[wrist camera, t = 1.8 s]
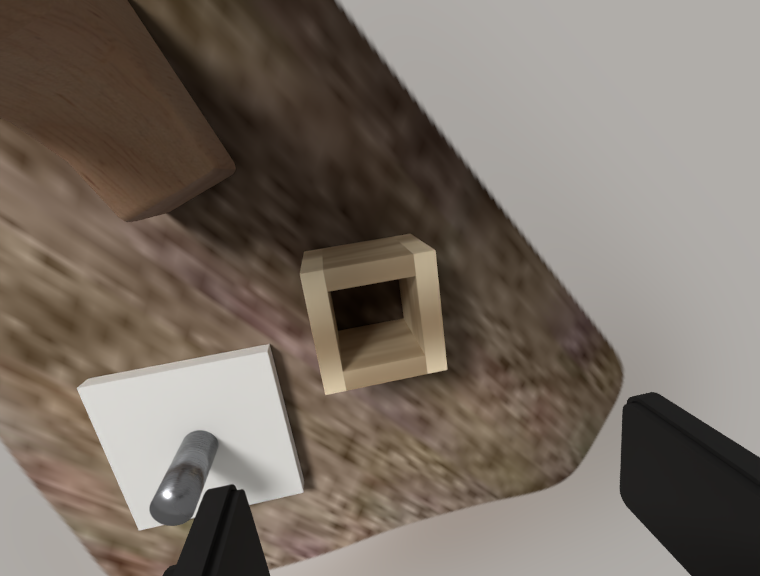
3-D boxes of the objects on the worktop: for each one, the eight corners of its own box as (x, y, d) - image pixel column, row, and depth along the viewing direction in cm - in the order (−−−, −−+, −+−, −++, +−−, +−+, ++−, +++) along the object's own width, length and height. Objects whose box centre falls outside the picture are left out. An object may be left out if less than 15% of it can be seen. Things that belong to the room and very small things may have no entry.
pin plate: (87, 378, 21) (12, 445, 16) (269, 343, 22) (254, 395, 17) (146, 516, 24) (98, 609, 19) (304, 480, 25) (300, 559, 20)
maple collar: (304, 251, 21) (299, 273, 16) (410, 233, 22) (435, 250, 17) (324, 349, 23) (325, 395, 18) (421, 330, 24) (447, 369, 19)
